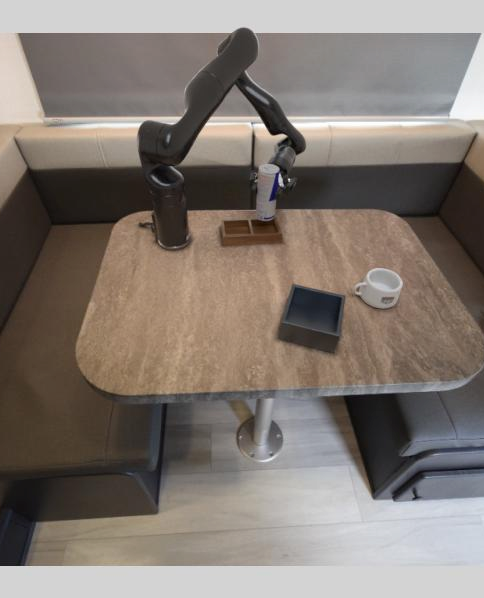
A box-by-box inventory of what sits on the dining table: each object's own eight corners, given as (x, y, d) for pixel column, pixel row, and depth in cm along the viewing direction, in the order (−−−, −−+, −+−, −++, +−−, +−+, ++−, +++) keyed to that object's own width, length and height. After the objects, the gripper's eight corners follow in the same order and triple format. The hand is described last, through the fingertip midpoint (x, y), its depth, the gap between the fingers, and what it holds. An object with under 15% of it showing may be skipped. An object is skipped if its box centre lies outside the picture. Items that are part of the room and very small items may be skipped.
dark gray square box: (289, 301, 88) (292, 283, 84) (339, 313, 86) (345, 295, 81) (278, 339, 80) (280, 321, 75) (333, 353, 77) (339, 336, 73)
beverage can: (273, 223, 101) (278, 174, 90) (253, 220, 102) (256, 171, 91) (275, 213, 105) (281, 164, 94) (257, 210, 106) (260, 162, 95)
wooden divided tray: (221, 227, 110) (220, 219, 108) (275, 225, 112) (276, 217, 109) (223, 245, 104) (223, 237, 101) (281, 242, 105) (282, 234, 103)
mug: (388, 282, 94) (396, 265, 89) (402, 309, 87) (412, 292, 83) (344, 284, 93) (350, 267, 89) (356, 311, 86) (362, 294, 82)
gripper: (256, 152, 105) (240, 177, 94) (304, 159, 103) (292, 186, 91) (255, 175, 111) (239, 202, 100) (300, 183, 108) (289, 211, 97)
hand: (265, 194), depth 96 cm, fingers closed on beverage can, 5 cm apart
